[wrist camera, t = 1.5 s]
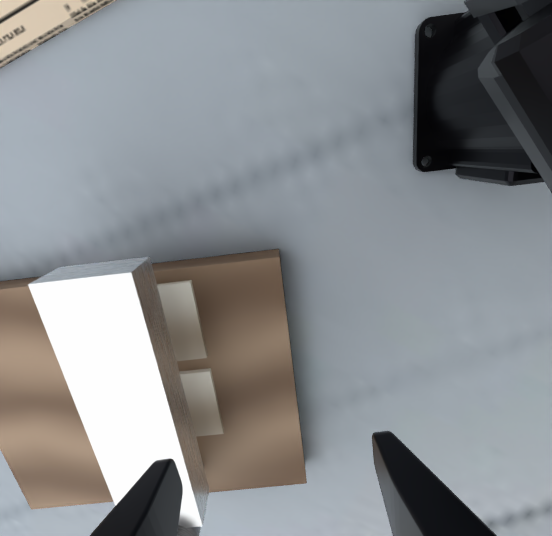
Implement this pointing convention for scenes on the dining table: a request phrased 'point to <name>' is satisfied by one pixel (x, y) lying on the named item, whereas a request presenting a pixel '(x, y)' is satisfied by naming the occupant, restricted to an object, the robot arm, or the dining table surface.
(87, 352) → the swing bar
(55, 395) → the label board
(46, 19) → the beige long curved strip
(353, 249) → the dining table surface
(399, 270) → the dining table surface
